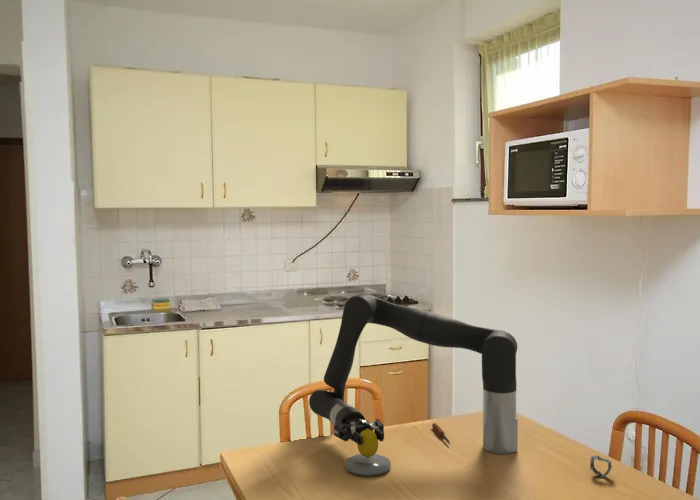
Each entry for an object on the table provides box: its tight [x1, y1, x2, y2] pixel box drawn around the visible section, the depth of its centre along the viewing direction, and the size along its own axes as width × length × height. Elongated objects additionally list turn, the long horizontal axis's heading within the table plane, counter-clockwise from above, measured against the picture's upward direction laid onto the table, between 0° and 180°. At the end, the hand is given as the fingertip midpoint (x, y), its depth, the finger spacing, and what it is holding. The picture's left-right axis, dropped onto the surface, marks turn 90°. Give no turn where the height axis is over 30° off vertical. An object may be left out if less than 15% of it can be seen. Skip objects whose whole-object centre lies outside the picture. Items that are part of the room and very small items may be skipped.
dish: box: [344, 453, 392, 477], centre depth 165 cm, size 12×12×2 cm
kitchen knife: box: [431, 422, 451, 445], centre depth 186 cm, size 16×1×2 cm, turn 9°
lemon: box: [356, 429, 379, 458], centre depth 164 cm, size 6×6×8 cm
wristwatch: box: [589, 455, 612, 479], centre depth 157 cm, size 3×5×5 cm, turn 55°
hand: (371, 439), depth 162 cm, fingers closed on lemon, 5 cm apart
